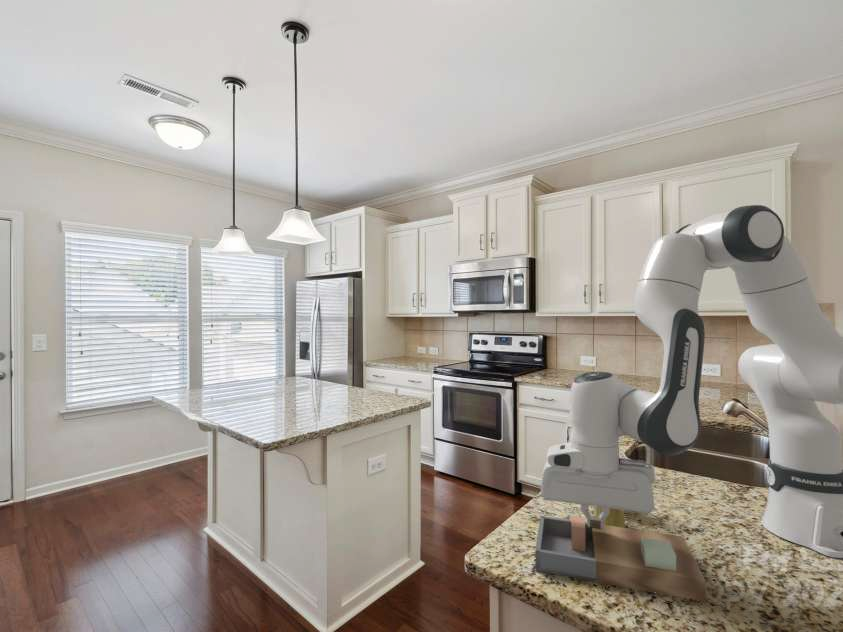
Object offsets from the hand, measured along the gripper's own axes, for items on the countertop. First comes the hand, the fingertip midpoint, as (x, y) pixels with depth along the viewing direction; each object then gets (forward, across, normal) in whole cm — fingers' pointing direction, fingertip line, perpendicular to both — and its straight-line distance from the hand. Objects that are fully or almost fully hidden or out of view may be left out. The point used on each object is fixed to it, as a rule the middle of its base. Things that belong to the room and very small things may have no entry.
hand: (595, 527), depth 80 cm
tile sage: (+1, -10, +7) cm, 12 cm away
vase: (+5, -4, -12) cm, 13 cm away
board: (+4, -8, +4) cm, 9 cm away
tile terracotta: (+2, +2, 0) cm, 3 cm away
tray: (+4, +6, +4) cm, 8 cm away
